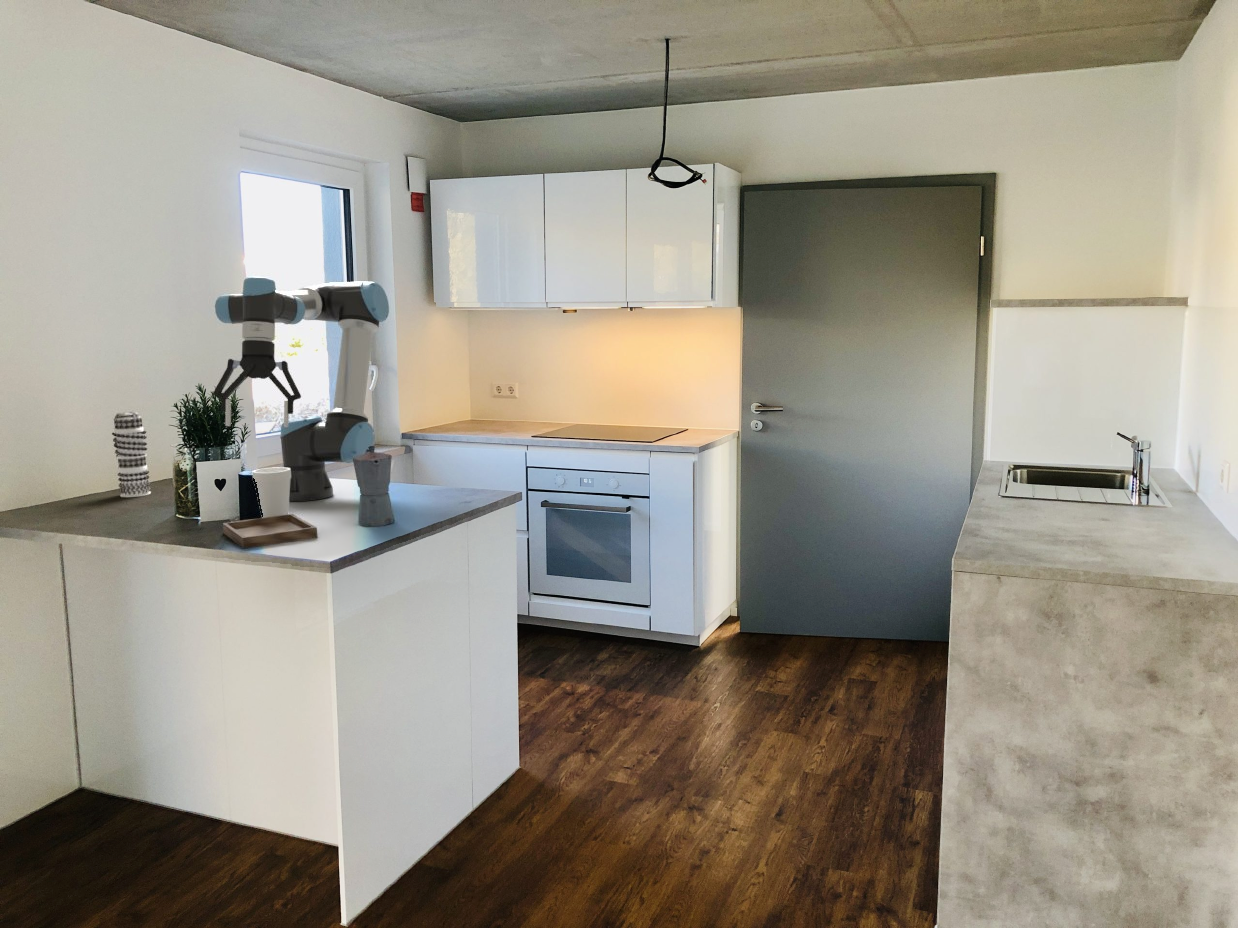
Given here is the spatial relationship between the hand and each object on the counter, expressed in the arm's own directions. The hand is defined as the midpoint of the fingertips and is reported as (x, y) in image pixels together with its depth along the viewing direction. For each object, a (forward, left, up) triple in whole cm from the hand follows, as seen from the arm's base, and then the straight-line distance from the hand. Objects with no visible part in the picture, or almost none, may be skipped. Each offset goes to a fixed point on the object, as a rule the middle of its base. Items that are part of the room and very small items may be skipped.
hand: (257, 426), depth 237 cm
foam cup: (-5, -10, -26) cm, 28 cm away
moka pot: (-24, +12, -26) cm, 37 cm away
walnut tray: (+1, +9, -26) cm, 27 cm away
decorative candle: (+19, -75, -26) cm, 81 cm away
